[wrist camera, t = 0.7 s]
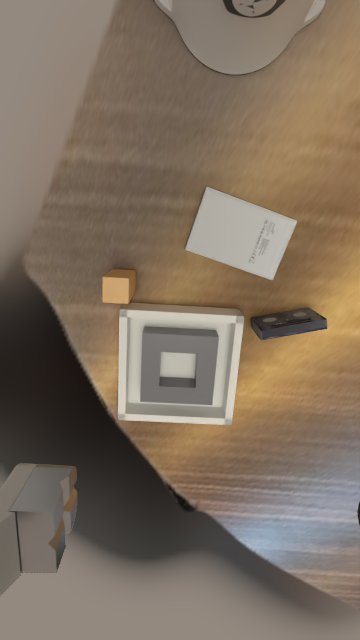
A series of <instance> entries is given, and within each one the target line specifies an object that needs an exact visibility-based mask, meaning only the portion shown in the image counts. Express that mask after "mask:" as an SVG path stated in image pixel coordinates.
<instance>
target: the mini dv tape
mask: <svg viewBox="0 0 360 640" xmlns="http://www.w3.org/2000/svg"><path fill="white" fill-rule="evenodd" d="M251 324H252V329H253V330H254V332H255V333H256V334H257V336H258V337H259V338H260V340H266V339H272V338H277V337H283V336H288V335H294V334H300V333H305V332H311V331H317V330H322V329H327V319H326V318H324V317H323V316H321V315H319V314H318V313H316V312H315V311H313V310H311V309H310V308H304V309H298V310H293V311H287V312H282V313H276V314H271V315H265V316H259V317H254V318H251Z"/></svg>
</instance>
